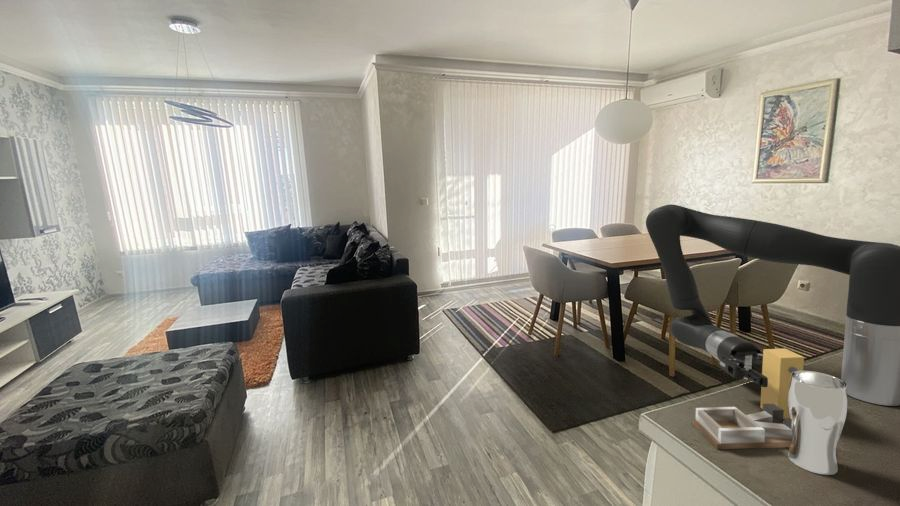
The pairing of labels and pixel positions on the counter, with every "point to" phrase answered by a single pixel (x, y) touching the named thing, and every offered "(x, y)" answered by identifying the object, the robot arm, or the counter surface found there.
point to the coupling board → (744, 427)
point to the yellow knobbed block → (779, 376)
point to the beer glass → (816, 420)
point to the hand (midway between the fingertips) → (788, 382)
